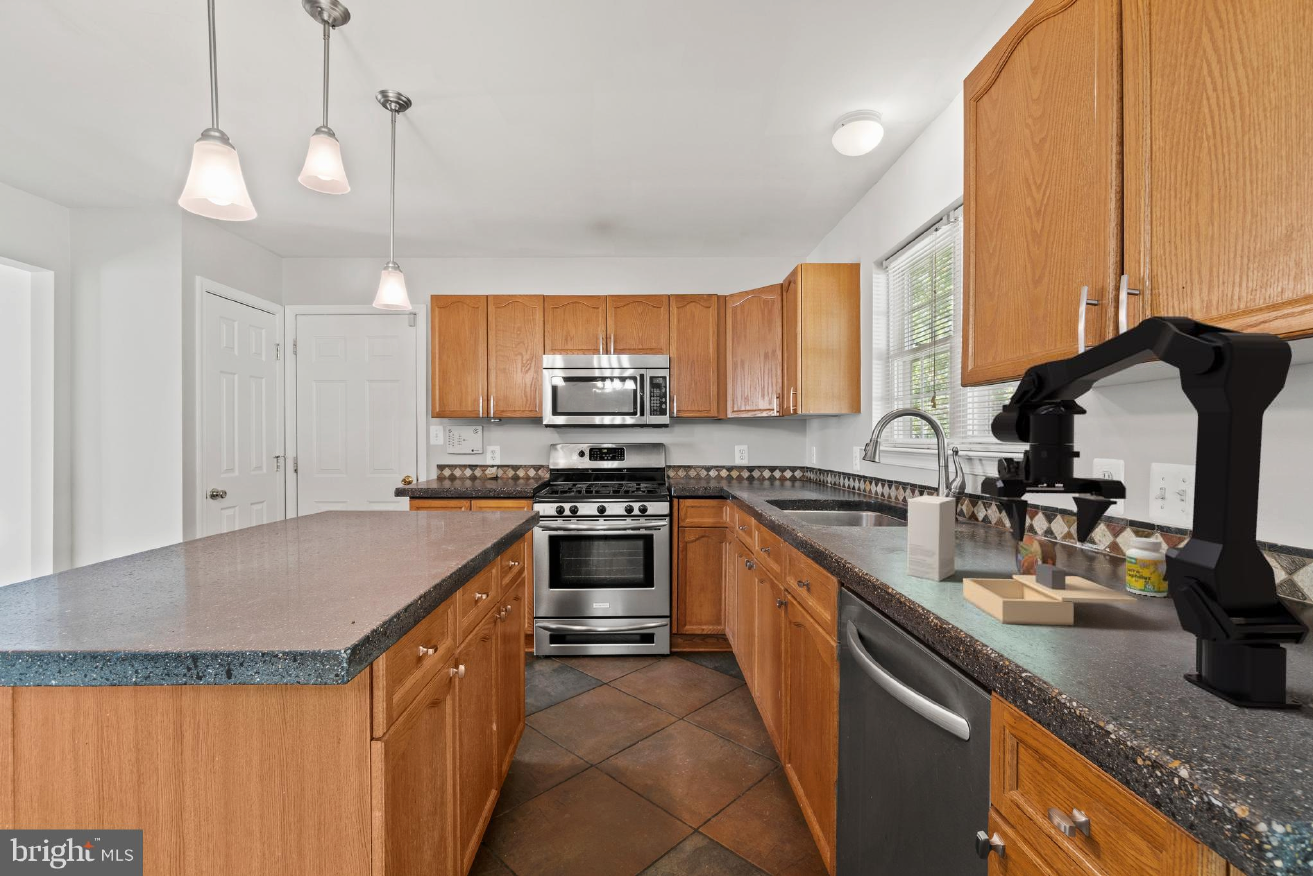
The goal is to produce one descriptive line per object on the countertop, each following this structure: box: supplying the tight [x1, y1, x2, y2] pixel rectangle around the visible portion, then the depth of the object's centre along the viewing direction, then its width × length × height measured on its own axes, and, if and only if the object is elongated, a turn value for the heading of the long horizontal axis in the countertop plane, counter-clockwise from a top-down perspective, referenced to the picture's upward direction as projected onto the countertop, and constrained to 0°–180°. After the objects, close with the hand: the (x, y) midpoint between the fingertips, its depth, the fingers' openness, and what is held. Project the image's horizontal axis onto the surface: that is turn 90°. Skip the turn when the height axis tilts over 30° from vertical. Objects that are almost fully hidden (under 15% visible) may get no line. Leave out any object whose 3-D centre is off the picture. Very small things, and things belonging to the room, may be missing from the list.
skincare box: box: [906, 494, 956, 583], centre depth 106 cm, size 8×7×16 cm
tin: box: [1014, 533, 1057, 575], centre depth 103 cm, size 15×3×8 cm, turn 161°
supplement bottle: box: [1125, 537, 1168, 598], centre depth 94 cm, size 5×5×10 cm
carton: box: [962, 577, 1075, 626], centre depth 85 cm, size 12×10×4 cm
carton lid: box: [1012, 564, 1138, 604], centre depth 84 cm, size 12×10×4 cm
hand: (1050, 541), depth 84 cm, fingers open, 9 cm apart
